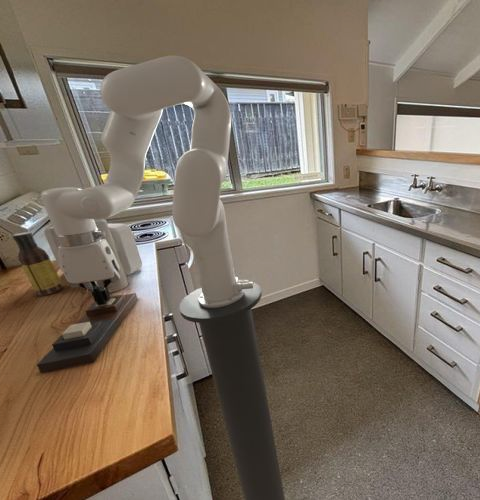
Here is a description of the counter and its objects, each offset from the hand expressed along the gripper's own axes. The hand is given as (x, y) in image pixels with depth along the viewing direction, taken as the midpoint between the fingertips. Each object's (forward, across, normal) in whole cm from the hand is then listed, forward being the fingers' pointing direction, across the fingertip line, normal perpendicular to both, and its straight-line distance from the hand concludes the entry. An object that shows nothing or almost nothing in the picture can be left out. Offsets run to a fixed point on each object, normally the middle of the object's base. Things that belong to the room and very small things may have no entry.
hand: (104, 302), depth 77 cm
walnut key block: (+4, 0, 0) cm, 4 cm away
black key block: (+4, 0, +14) cm, 15 cm away
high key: (0, 0, +14) cm, 14 cm away
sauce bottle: (+4, +25, -24) cm, 35 cm away
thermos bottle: (+4, +6, -19) cm, 20 cm away
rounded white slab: (+4, +15, -36) cm, 39 cm away
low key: (+2, 0, 0) cm, 2 cm away
